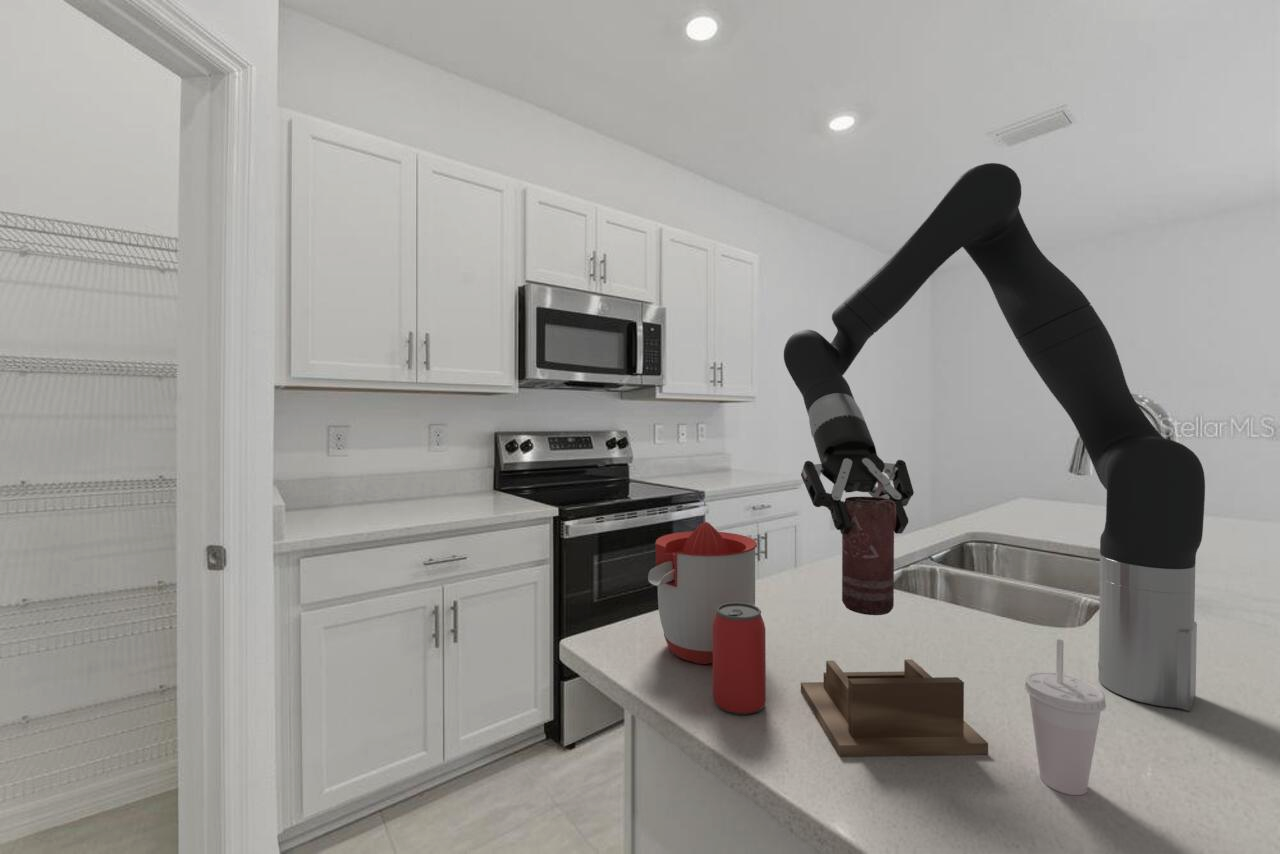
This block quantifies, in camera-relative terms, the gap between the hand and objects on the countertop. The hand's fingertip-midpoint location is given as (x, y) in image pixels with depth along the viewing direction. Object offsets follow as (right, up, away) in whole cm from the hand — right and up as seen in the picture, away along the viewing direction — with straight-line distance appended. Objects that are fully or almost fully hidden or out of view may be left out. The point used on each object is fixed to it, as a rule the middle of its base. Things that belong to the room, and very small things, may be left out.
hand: (874, 530), depth 70 cm
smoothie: (+13, -23, -14) cm, 30 cm away
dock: (0, -22, -3) cm, 22 cm away
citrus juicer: (-20, -22, +17) cm, 34 cm away
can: (0, -10, +2) cm, 11 cm away
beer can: (-17, -22, +1) cm, 28 cm away
